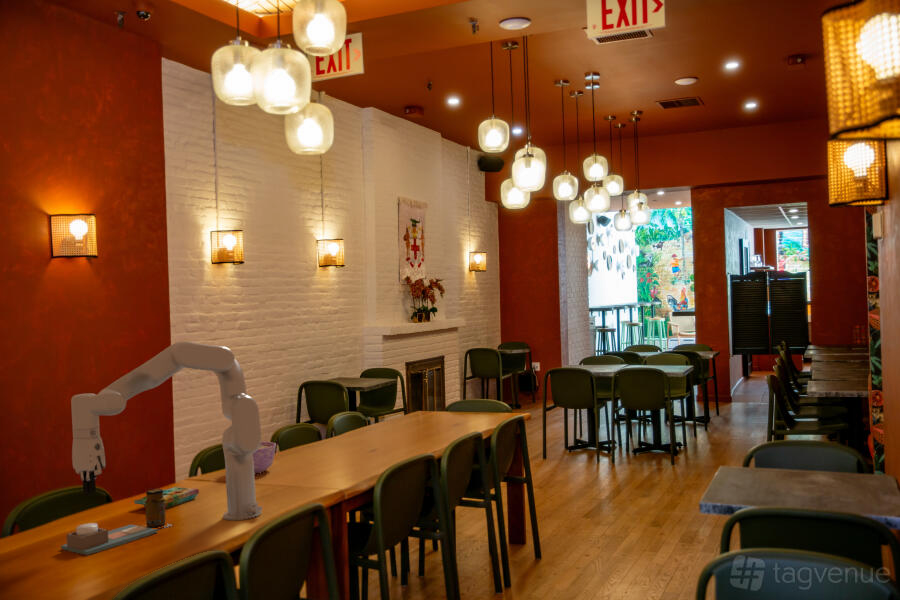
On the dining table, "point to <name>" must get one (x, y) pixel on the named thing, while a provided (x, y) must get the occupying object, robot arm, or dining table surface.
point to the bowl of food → (264, 456)
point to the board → (105, 539)
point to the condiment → (155, 509)
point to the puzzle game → (174, 496)
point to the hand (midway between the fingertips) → (89, 492)
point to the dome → (87, 529)
